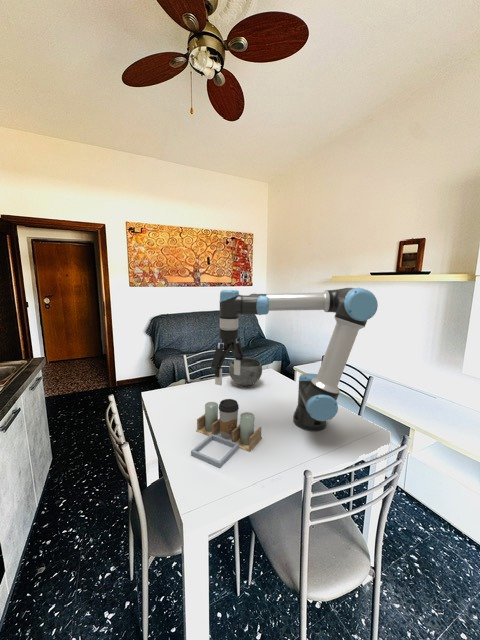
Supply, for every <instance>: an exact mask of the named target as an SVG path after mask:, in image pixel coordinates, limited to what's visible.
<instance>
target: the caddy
mask: <svg viewBox="0 0 480 640" xmlns="http://www.w3.org/2000/svg"><path fill="white" fill-rule="evenodd" d="M195 432H196V433H199V434H202V435H205V436H206V437H209V436H210V435H211V434H214V435H216V436H217V434H218V433H221V430H220V418H218V420H217V421H216V422H214V423H213V424H212V432H208V431H206V430H205V413H204V414H203V415H201V416H200V417H198V418H197V419H196V430H195ZM262 439H263V437H262V426H259V427H258V428H257V429H256V430H254V433H253V434H252V435H251V436H250V437H249V445H243V444H241V443H240V424H238V425H237V427H236V428H235V429H234V430H233V431H232V439H231V441H232V442H235V443H237V444H239V449H240V450H244V451H246V452H248V453H251V451H253V449H254V448H255V447H256V446H257V444H258V443H259V442H260V441H261V440H262Z"/></svg>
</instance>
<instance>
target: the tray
mask: <svg viewBox="0 0 480 640" xmlns="http://www.w3.org/2000/svg"><path fill="white" fill-rule="evenodd" d="M212 441H215V442H217V443H219V444H222V445H224V446H227V447H230V448H231V449H230V450H229V451H228V452H227V453H225V454H224V455H223V456H222V458H221V459H219V460H218V459H216V458H213V457H211V456H209V455H208V454H207V455H206V454H204V453H202V452H200V451H201V450H202V449H203V448H205V447H206V446H207V445H208V444H209V443H211V442H212ZM239 449H240V448H239V444H237V443H235V442H232V440H230V439H224V438H222V437H221V436H219V435H217V434H216V435H214V434H211V435H210V436H206V438H205V439H204V440H202V442H200V443H198V444H197V446H195V447H194V448H193V449H191V450H190V456H192V457H194V458H196V459H198V460H200V461H202V462H205V463H208V464H210V465H212V466H213V467H214V466H215V467H216V468H219V469H221V468H222V466H224V465H225V464H226V462H228V461H229V460H230V458H231V457H232V456H233V455H234V454H235V453H236V452H237V451H238V450H239Z"/></svg>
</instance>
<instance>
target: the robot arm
mask: <svg viewBox="0 0 480 640" xmlns="http://www.w3.org/2000/svg"><path fill="white" fill-rule="evenodd" d="M378 303H379V302H378V299H377V297H376V295H375V294H374V293H373V292H372V291H370V290H369V289H367V288H366V289H365V288H362V287H344V288H338V289H337V288H336V289H329V290H328V289H326V290H324V291H323V292H297V293H296V292H294V293H293V292H291V293H290V292H288V293H287V292H284V293H283V292H282V293H250V294H249V295H247V294H246V295H242V294H240V291H239V290H237V289H222V290H221V291H220V292H219V330H218V331H219V337H218V338H219V339H221V341H220V342H216V344H215V351H214V354H213V357H212V362H211V365H210V368H211V369H214V384H215V385H217V386H222V384H223V368H222V366H223V364H224V362H225V359H226V357H227V355H228V354H229V353H230V352H231V353H232V355H233V357H234V359H233V360H234V374H235V375H240V360H243V358H245V357H244V352H243V348H242V344H241V338H240V337H239V329H238V328H239V315H256V316H257V315H258V316H262V315H263V316H264V315H266V316H267V315H268V314H269V312H270V311H273V312H274V311H275V312H276V311H278V312H279V311H283V312H284V311H323V312H325V313H334V320H335V322H336V324H335V325H334V329H333V331H332V334H331V337H330V340H329V343H328V346H327V348H326V351H325V353H324V356H323V357H322V358H323V359H322V361H321V364H320V367H319V370H318V372H317V373H308V372H307V373H301V374H300V375H299V377H298V378H299V379H298V395H297V405H296V407H295V410H294V413H293V416H292V417H293V418H292V421H293V423H294V425H296V426H297V428H298V427H299V428H300V429H302V430H307V431H311V432H312V431H313V432H314V431H315V432H316V431H317V432H318V431H321V430H324V429H325V428H326V427H327V422H328V421H329V420H332V419H333V418H335V417H336V415H337V413H338V411H339V406H338V402H337V400H338V397H339V395H340V392H341V391H340V390H341V389H339V383H340V381H341V378H342V375H343V373H344V370H345V368H346V365H347V362H348V361H349V357H350V354H351V352H352V350H353V348H354V347H353V346H354V343H355V341H356V339H357V335H358V333H359V331H360V330H361V329H364V328H366V325H367V322H368V320H370V319H371V318H373V317H374V316H375V315H376V313H377V311H378V307H379V306H378Z"/></svg>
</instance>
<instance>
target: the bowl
mask: <svg viewBox="0 0 480 640" xmlns="http://www.w3.org/2000/svg"><path fill="white" fill-rule="evenodd" d="M242 358H243V360H240V375H235V374H234V360H235V359H233V360H231V361H230V363H229V367H228V375H229V377H230V379H231V380H232V381H233V383H235V384H236V385H239V386H242V387H243V386H244V387H248V386H252V385H254V384H256V383H257V382H258V381H259V380H260V378H261V377H262V373H263V365H262V363H261V361H260V360H258V359H257V358H254V357H253V358H252V357H242Z"/></svg>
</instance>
